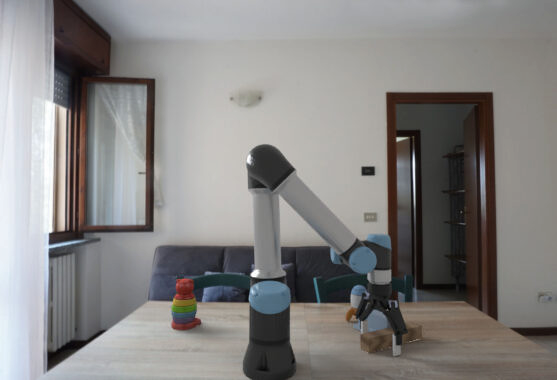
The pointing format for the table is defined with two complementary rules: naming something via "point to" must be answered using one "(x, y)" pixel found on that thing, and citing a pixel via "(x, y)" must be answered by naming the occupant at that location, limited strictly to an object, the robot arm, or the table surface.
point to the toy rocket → (355, 301)
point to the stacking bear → (184, 306)
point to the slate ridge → (374, 321)
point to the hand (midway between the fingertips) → (380, 347)
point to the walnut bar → (388, 337)
